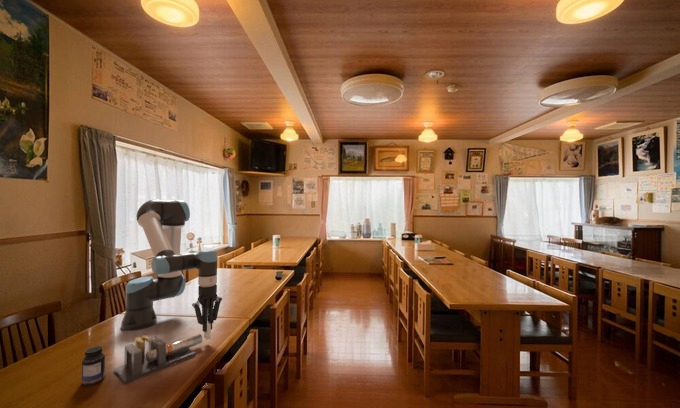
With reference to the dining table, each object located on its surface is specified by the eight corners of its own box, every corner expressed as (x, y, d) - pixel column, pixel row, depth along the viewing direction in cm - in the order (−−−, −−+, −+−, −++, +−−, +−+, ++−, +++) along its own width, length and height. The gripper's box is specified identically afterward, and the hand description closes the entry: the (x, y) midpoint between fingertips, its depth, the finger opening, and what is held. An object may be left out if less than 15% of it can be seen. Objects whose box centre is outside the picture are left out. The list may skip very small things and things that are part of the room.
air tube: (150, 364, 110) (150, 353, 110) (145, 361, 113) (146, 349, 113) (202, 344, 126) (202, 334, 126) (197, 342, 129) (197, 332, 129)
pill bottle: (90, 376, 105) (91, 345, 105) (109, 375, 105) (109, 344, 106) (76, 386, 99) (77, 353, 99) (96, 385, 99) (96, 353, 99)
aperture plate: (134, 361, 113) (134, 337, 113) (143, 357, 115) (144, 334, 115) (141, 367, 109) (141, 342, 109) (151, 363, 111) (151, 339, 111)
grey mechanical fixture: (114, 371, 108) (114, 347, 108) (181, 346, 127) (181, 326, 127) (125, 383, 101) (125, 357, 101) (195, 355, 120) (195, 333, 120)
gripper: (197, 289, 123) (197, 346, 122) (225, 283, 133) (225, 335, 133) (188, 286, 127) (188, 341, 127) (216, 280, 138) (216, 330, 137)
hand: (207, 337), depth 130 cm, fingers closed
